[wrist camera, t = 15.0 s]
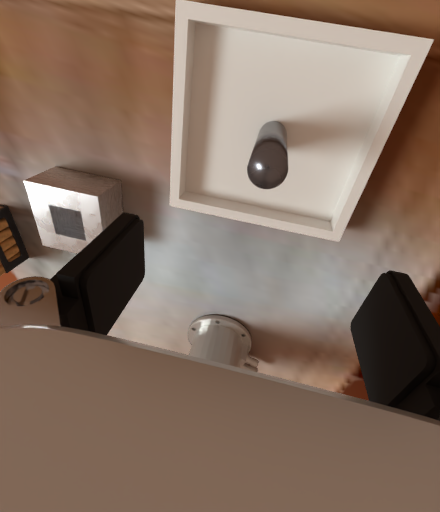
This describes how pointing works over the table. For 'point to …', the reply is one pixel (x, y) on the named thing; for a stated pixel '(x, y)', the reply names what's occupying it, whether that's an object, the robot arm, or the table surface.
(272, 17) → the tray
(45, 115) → the table surface
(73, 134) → the table surface
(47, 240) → the block
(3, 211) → the ammunition clip
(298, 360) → the table surface
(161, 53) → the table surface
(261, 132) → the pin
